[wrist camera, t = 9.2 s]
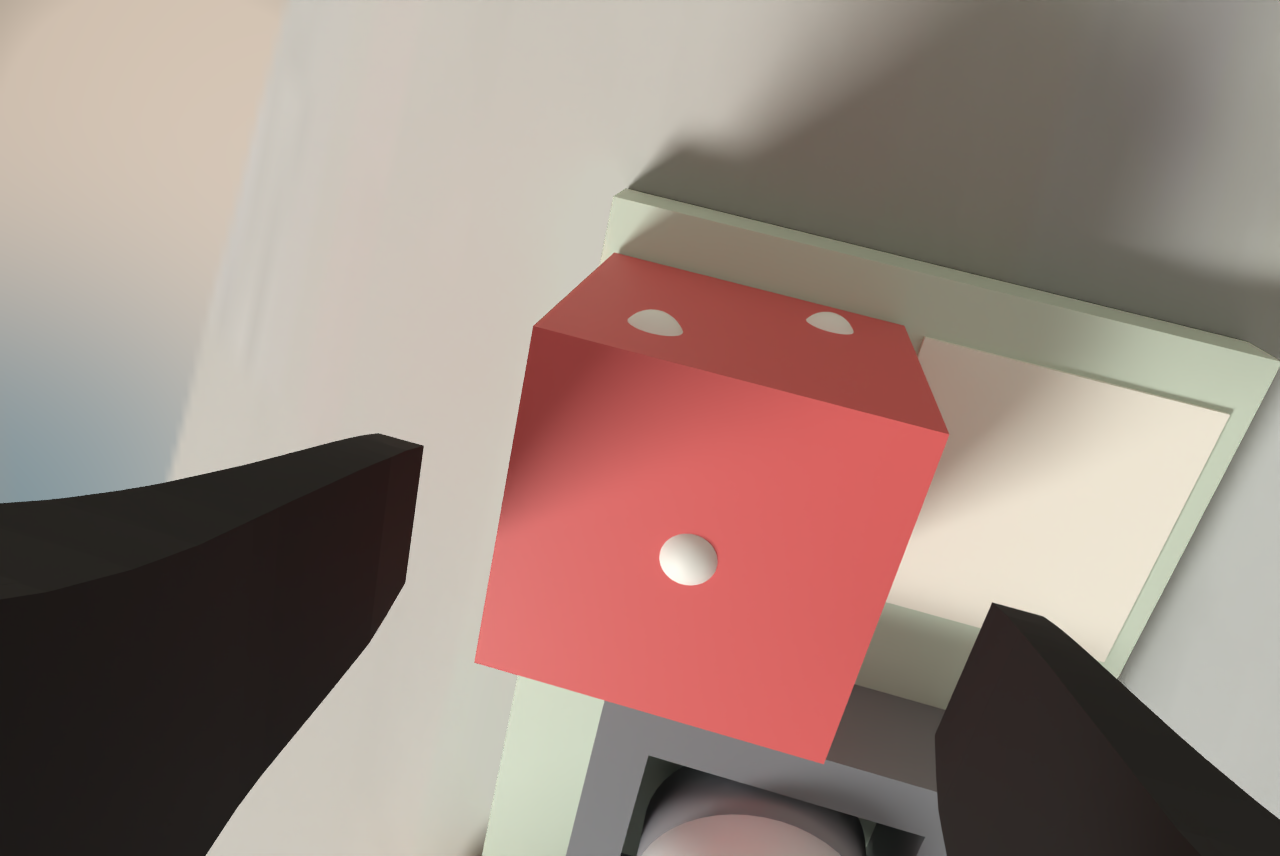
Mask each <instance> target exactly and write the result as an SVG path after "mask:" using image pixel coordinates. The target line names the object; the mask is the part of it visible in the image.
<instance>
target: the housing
mask: <svg viewBox="0 0 1280 856" xmlns="http://www.w3.org/2000/svg"><path fill="white" fill-rule="evenodd" d="M944 713H945V710H944V709H940V708H937V707H933V706H930V705H926V704H923V703H919V702H916V701H912V700H909V699H905V698H902V697H898V696H895V695H891V694H888V693H884V692H881V691H877V690H874V689H870V688H866V687H863V686H859V685H856V684H854V686H853V689H852V692H851V694H850V697H849V700H848V702H847V705H846V707H845V710H844V713H843V715H842V718H841V721H840V723H839V726H838V728H837V731H836V734H835V736H834V739H833V742H832V744H831V747H830V749H829V752H828V755H827V757H826V760H825V763H824V764H821V763H818V762H814V761H811V760H807V759H804V758H800V757H797V756H793V755H790V754H787V753H783V752H780V751H776V750H773V749H769V748H766V747H763V746H759V745H756V744H752V743H749V742H745V741H742V740H739V739H735V738H732V737H728V736H725V735H721V734H718V733H715V732H711V731H708V730H704V729H701V728H697V727H694V726H691V725H687V724H684V723H680V722H677V721H673V720H670V719H667V718H663V717H660V716H656V715H653V714H649V713H646V712H643V711H639V710H636V709H632V708H629V707H625V706H622V705H619V704H615V703H612V702H608V701H605V700H604V705H603V709H602V713H601V717H600V721H599V725H598V729H597V733H596V737H595V741H594V745H593V749H592V753H591V757H590V761H589V765H588V769H587V773H586V777H585V781H584V785H583V789H582V793H581V797H580V801H579V805H578V809H577V813H576V817H575V821H574V825H573V829H572V833H571V837H570V841H569V845H568V849H567V853H566V856H631V855H628V854H624V853H621V852H622V848H623V845H624V841H625V837H626V834H627V830H628V827H629V823H630V820H631V816H632V812H633V809H634V805H635V802H636V798H637V795H638V791H639V788H640V784H641V780H642V777H643V773H644V770H645V766H646V763H647V759H648V756H652V757H656V758H659V759H662V760H666V761H669V762H673V763H676V764H679V765H683V766H686V767H690V768H693V769H696V770H700V771H703V772H707V773H710V774H713V775H717V776H720V777H723V778H727V779H730V780H734V781H737V782H740V783H744V784H747V785H751V786H754V787H757V788H761V789H764V790H768V791H771V792H774V793H778V794H781V795H785V796H788V797H791V798H795V799H798V800H801V801H805V802H808V803H812V804H815V805H818V806H822V807H825V808H829V809H832V810H835V811H839V812H842V813H846V814H849V815H852V816H856V817H859V818H862V819H866V820H869V821H873V822H876V826H875V828H874V830H873V833H872V835H871V837H870V840H869V842H868V844H867V847H866V856H947V854H946V849H945V844H944V839H943V834H942V828H941V823H940V817H939V811H938V798H937V783H936V759H935V733H936V731H937V729H938V726H939V724H940V722H941V719H942V717H943V715H944Z"/></svg>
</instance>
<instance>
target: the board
mask: <svg viewBox="0 0 1280 856" xmlns="http://www.w3.org/2000/svg"><path fill="white" fill-rule="evenodd" d="M613 253H618V254H622V255H626V256H630V257H634V258H638V259H642V260H646V261H650V262H654V263H658V264H662V265H666V266H670V267H674V268H678V269H682V270H686V271H690V272H694V273H698V274H702V275H706V276H710V277H713V278H717V279H721V280H725V281H729V282H733V283H737V284H741V285H745V286H749V287H753V288H757V289H761V290H765V291H769V292H773V293H777V294H781V295H785V296H789V297H793V298H797V299H801V300H805V301H809V302H812V303H816V304H820V305H824V306H828V307H832V308H836V309H840V310H844V311H848V312H852V313H856V314H860V315H864V316H868V317H872V318H876V319H880V320H884V321H888V322H892V323H896V324H900V325H904V326H905V328H906V331H907V333H908V335H909V338H910V340H911V343H912V345H913V348H914V350H915V352H916V355H917V357H918V360H919V362H920V364H921V367H922V369H923V372H924V374H925V377H926V379H927V381H928V384H929V386H930V389H931V391H932V393H933V396H934V398H935V401H936V403H937V406H938V408H939V410H940V413H941V415H942V418H943V420H944V422H945V425H946V427H947V430H948V432H949V437H948V440H947V442H946V445H945V448H944V450H943V453H942V455H941V458H940V461H939V463H938V466H937V469H936V471H935V474H934V476H933V479H932V482H931V484H930V487H929V490H928V492H927V495H926V497H925V500H924V503H923V505H922V508H921V511H920V513H919V516H918V518H917V521H916V524H915V526H914V529H913V532H912V534H911V537H910V539H909V542H908V545H907V547H906V550H905V553H904V555H903V558H902V560H901V563H900V566H899V568H898V571H897V574H896V576H895V579H894V581H893V584H892V587H891V589H890V592H889V595H888V597H887V600H886V602H885V605H884V608H883V610H882V613H881V616H880V618H879V621H878V623H877V626H876V629H875V631H874V634H873V637H872V639H871V642H870V644H869V647H868V650H867V652H866V655H865V658H864V660H863V663H862V665H861V668H860V671H859V673H858V676H857V679H856V681H855V684H856V685H859V686H863V687H866V688H870V689H874V690H877V691H881V692H884V693H888V694H891V695H895V696H898V697H902V698H905V699H909V700H912V701H916V702H919V703H923V704H926V705H930V706H933V707H937V708H940V709H944V710H946V708H947V706H948V703H949V701H950V699H951V696H952V694H953V692H954V689H955V687H956V685H957V682H958V680H959V678H960V676H961V673H962V671H963V669H964V666H965V664H966V662H967V659H968V657H969V655H970V652H971V650H972V648H973V645H974V643H975V641H976V639H977V636H978V634H979V632H980V629H981V627H982V625H983V622H984V620H985V618H986V615H987V613H988V611H989V608H990V606H991V604H992V602H993V603H997V604H1000V605H1004V606H1008V607H1011V608H1015V609H1019V610H1022V611H1026V612H1029V613H1033V614H1037V615H1040V616H1044V617H1045V618H1047V619H1048V620H1049V621H1051V622H1052V623H1054V624H1055V625H1056V626H1058V627H1059V628H1060V629H1061V630H1063V631H1064V632H1065V633H1066V634H1067V635H1069V636H1070V637H1071V638H1072V639H1073V640H1074V641H1076V642H1077V643H1078V644H1079V645H1080V646H1081V647H1082V648H1083V649H1085V650H1086V651H1087V652H1088V653H1089V654H1090V655H1091V656H1092V657H1093V658H1095V659H1096V660H1097V661H1098V662H1099V663H1100V664H1101V665H1102V666H1103V667H1104V668H1105V669H1107V670H1108V671H1109V672H1110V673H1111V674H1112V675H1113V676H1114V677H1115V678H1116V679H1118V677H1119V675H1120V673H1121V671H1122V669H1123V667H1124V665H1125V663H1126V661H1127V659H1128V657H1129V655H1130V654H1131V652H1132V650H1133V648H1134V646H1135V644H1136V642H1137V640H1138V638H1139V636H1140V634H1141V632H1142V631H1143V629H1144V627H1145V625H1146V623H1147V621H1148V619H1149V617H1150V615H1151V613H1152V611H1153V609H1154V607H1155V606H1156V604H1157V602H1158V600H1159V598H1160V596H1161V594H1162V592H1163V590H1164V588H1165V586H1166V584H1167V582H1168V581H1169V579H1170V577H1171V575H1172V573H1173V571H1174V569H1175V567H1176V565H1177V563H1178V561H1179V559H1180V558H1181V556H1182V554H1183V552H1184V550H1185V548H1186V546H1187V544H1188V542H1189V540H1190V538H1191V536H1192V534H1193V533H1194V531H1195V529H1196V527H1197V525H1198V523H1199V521H1200V519H1201V517H1202V515H1203V513H1204V511H1205V509H1206V508H1207V506H1208V504H1209V502H1210V500H1211V498H1212V496H1213V494H1214V492H1215V490H1216V488H1217V486H1218V484H1219V483H1220V481H1221V479H1222V477H1223V475H1224V473H1225V471H1226V469H1227V467H1228V465H1229V463H1230V461H1231V460H1232V458H1233V456H1234V454H1235V452H1236V450H1237V448H1238V446H1239V444H1240V442H1241V440H1242V438H1243V436H1244V435H1245V433H1246V431H1247V429H1248V427H1249V425H1250V423H1251V421H1252V419H1253V417H1254V415H1255V413H1256V411H1257V410H1258V408H1259V406H1260V404H1261V402H1262V400H1263V398H1264V396H1265V394H1266V392H1267V390H1268V388H1269V387H1270V385H1271V383H1272V381H1273V379H1274V377H1275V375H1276V373H1277V371H1278V369H1279V367H1280V360H1278V359H1276V358H1275V357H1273V356H1271V355H1269V354H1268V353H1266V352H1264V351H1263V350H1261V349H1259V348H1258V347H1256V346H1254V345H1252V344H1251V343H1249V342H1247V341H1242V340H1238V339H1234V338H1230V337H1226V336H1222V335H1218V334H1214V333H1210V332H1206V331H1202V330H1198V329H1194V328H1190V327H1186V326H1182V325H1178V324H1174V323H1169V322H1165V321H1161V320H1157V319H1153V318H1149V317H1145V316H1141V315H1137V314H1133V313H1129V312H1125V311H1121V310H1117V309H1113V308H1109V307H1105V306H1101V305H1097V304H1092V303H1088V302H1084V301H1080V300H1076V299H1072V298H1068V297H1064V296H1060V295H1056V294H1052V293H1048V292H1044V291H1040V290H1036V289H1032V288H1028V287H1024V286H1019V285H1015V284H1011V283H1007V282H1003V281H999V280H995V279H991V278H987V277H983V276H979V275H975V274H971V273H967V272H963V271H959V270H955V269H951V268H946V267H942V266H938V265H934V264H930V263H926V262H922V261H918V260H914V259H910V258H906V257H902V256H898V255H894V254H890V253H886V252H882V251H878V250H874V249H869V248H865V247H861V246H857V245H853V244H849V243H845V242H841V241H837V240H833V239H829V238H825V237H821V236H817V235H813V234H809V233H805V232H801V231H796V230H792V229H788V228H784V227H780V226H776V225H772V224H768V223H764V222H760V221H756V220H752V219H748V218H744V217H740V216H736V215H732V214H728V213H723V212H719V211H715V210H711V209H707V208H703V207H699V206H695V205H691V204H687V203H683V202H679V201H675V200H671V199H667V198H663V197H659V196H655V195H651V194H646V193H642V192H638V191H634V190H630V189H625V190H623V191H621V192H620V193H618V194H616V195H615V196H613V200H612V205H611V210H610V215H609V220H608V225H607V230H606V235H605V240H604V245H603V250H602V255H601V261H600V265H601V264H602V263H603V262H604V261H605V260H607V259H608V258H609V257H610V256H611V255H612V254H613ZM603 705H604V700H601V699H598V698H594V697H591V696H588V695H584V694H581V693H577V692H574V691H570V690H567V689H564V688H560V687H557V686H553V685H550V684H546V683H543V682H540V681H536V680H533V679H529V678H526V677H522V676H519V675H518V677H517V682H516V687H515V692H514V697H513V702H512V707H511V712H510V717H509V722H508V727H507V732H506V737H505V742H504V747H503V752H502V757H501V762H500V767H499V772H498V777H497V782H496V787H495V792H494V797H493V802H492V807H491V812H490V817H489V822H488V827H487V832H486V837H485V842H484V847H483V852H482V856H566V853H567V849H568V845H569V841H570V837H571V833H572V829H573V825H574V821H575V817H576V813H577V809H578V805H579V801H580V797H581V793H582V789H583V785H584V781H585V777H586V773H587V769H588V765H589V761H590V757H591V753H592V749H593V745H594V741H595V737H596V733H597V729H598V725H599V721H600V717H601V713H602V709H603ZM681 767H683V765H679V764H676V763H673V762H669V761H666V760H662V759H659V758H656V757H652V756H648V759H647V763H646V766H645V770H644V773H643V777H642V780H641V784H640V788H639V791H638V795H637V798H636V802H635V805H634V809H633V812H632V816H631V820H630V823H629V827H628V830H627V834H626V837H625V841H624V845H623V848H622V852H621V853H624V854H628V855H631V856H637V852H638V847H639V842H640V838H641V833H642V828H643V824H644V819H645V814H646V810H647V807H648V805H649V802H650V799H651V798H652V796H653V794H654V793H655V791H656V789H657V788H658V787H659V786H660V785H661V783H662V782H663V781H664V780H665V779H666V778H668V777H669V776H670V775H671V774H672V773H673V772H675V771H677V770H678V769H680V768H681ZM858 818H859V817H858ZM859 821H860V823H861V826H862V829H863V833H864V838H865V846H866V847H867V844H868V842H869V840H870V837H871V835H872V833H873V830H874V828H875V826H876V822H873V821H869V820H866V819H862V818H859Z"/></svg>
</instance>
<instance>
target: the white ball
mask: <svg viewBox="0 0 1280 856" xmlns="http://www.w3.org/2000/svg"><path fill="white" fill-rule="evenodd" d="M637 856H866V846H865V838H864V833H863V829H862V826H861V823H860V821H859V818H858V817H856V816H852V815H849V814H846V813H842V812H839V811H835V810H832V809H829V808H825V807H822V806H818V805H815V804H812V803H808V802H805V801H801V800H798V799H795V798H791V797H788V796H785V795H781V794H778V793H774V792H771V791H768V790H764V789H761V788H757V787H754V786H751V785H747V784H744V783H740V782H737V781H734V780H730V779H727V778H723V777H720V776H717V775H713V774H710V773H707V772H703V771H700V770H696V769H693V768H690V767H686V766H683V767H681V768H680V769H678V770H677V771H675V772H673V773H672V774H671V775H670V776H669V777H668V778H666V779H665V780H664V781H663V782H662V783H661V785H660V786H659V787H658V788H657V789H656V791H655V793H654V794H653V796H652V798H651V799H650V802H649V805H648V807H647V810H646V814H645V819H644V824H643V828H642V833H641V838H640V842H639V847H638V852H637Z"/></svg>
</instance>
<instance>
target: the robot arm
mask: <svg viewBox="0 0 1280 856" xmlns="http://www.w3.org/2000/svg"><path fill="white" fill-rule="evenodd" d="M423 447H424V446H422V445H419V444H415V443H411V442H408V441H404V440H400V439H397V438H393V437H390V436H386V435H382V434H379V433H378V434H369V435H363V436H357V437H353V438H348V439H344V440H340V441H335V442H332V443H328V444H324V445H320V446H316V447H312V448H308V449H305V450H301V451H297V452H293V453H289V454H285V455H282V456H278V457H274V458H270V459H266V460H262V461H259V462H255V463H251V464H247V465H243V466H238V467H234V468H229V469H225V470H220V471H216V472H211V473H207V474H202V475H198V476H193V477H189V478H184V479H180V480H175V481H171V482H166V483H161V484H155V485H151V486H145V487H139V488H133V489H127V490H121V491H114V492H106V493H99V494H92V495H85V496H77V497H70V498H61V499H52V500H41V501H28V502H14V503H0V856H206V854H207V852H208V851H209V849H210V848H211V846H212V845H213V843H214V842H215V840H216V839H217V837H218V836H219V834H220V833H221V831H222V830H223V828H224V827H225V825H226V824H227V822H228V821H229V819H230V818H231V816H232V815H233V813H234V812H235V810H236V809H237V807H238V806H239V804H240V803H241V802H242V800H243V799H244V798H245V796H246V795H247V794H248V792H249V791H250V790H251V788H252V787H253V786H254V784H255V783H256V782H257V780H258V779H259V778H260V776H261V775H262V774H263V773H264V772H265V770H266V769H267V768H268V767H269V765H270V764H271V763H272V762H273V761H274V759H275V758H276V757H277V756H278V754H279V753H280V752H281V751H282V750H283V748H284V747H285V746H286V745H287V744H288V742H289V741H290V740H291V739H292V737H293V736H294V735H295V734H296V733H297V731H298V730H299V729H300V728H301V726H302V725H303V724H304V723H305V722H306V720H307V719H308V718H309V717H310V716H311V714H312V713H313V712H314V711H315V709H316V708H317V707H318V706H319V705H320V703H321V702H322V701H323V700H324V699H325V697H326V696H327V695H328V694H329V692H330V691H331V690H332V689H333V688H334V686H335V685H336V684H337V683H338V681H339V680H340V679H341V678H342V676H343V675H344V674H345V673H346V671H347V670H348V669H349V668H350V666H351V665H352V664H353V663H354V662H355V660H356V659H357V658H358V657H359V655H360V654H361V653H362V651H363V650H364V649H365V648H366V646H367V645H368V644H369V642H370V641H371V639H372V638H373V636H374V634H375V633H376V631H377V629H378V628H379V626H380V625H381V623H382V621H383V620H384V618H385V617H386V615H387V613H388V611H389V610H390V608H391V606H392V605H393V603H394V601H395V599H396V598H397V596H398V594H399V592H400V591H401V589H402V587H403V586H404V584H405V580H406V573H407V565H408V558H409V551H410V543H411V536H412V528H413V521H414V514H415V506H416V499H417V491H418V484H419V477H420V469H421V462H422V454H423ZM935 759H936V783H937V798H938V811H939V817H940V823H941V828H942V834H943V839H944V844H945V849H946V854H947V856H1280V819H1278V818H1277V817H1276V816H1274V815H1273V814H1272V813H1271V812H1269V811H1268V810H1267V809H1266V808H1264V807H1263V806H1262V805H1260V804H1259V803H1258V802H1257V801H1255V800H1254V799H1253V798H1252V797H1251V796H1249V795H1248V794H1247V793H1246V792H1245V791H1243V790H1242V789H1241V788H1240V787H1239V786H1237V785H1236V784H1235V783H1234V782H1233V781H1231V780H1230V779H1229V778H1228V777H1227V776H1225V775H1224V774H1223V773H1222V772H1221V771H1219V770H1218V769H1217V768H1216V767H1215V766H1213V765H1212V764H1211V763H1210V762H1209V761H1207V760H1206V759H1205V758H1204V757H1203V756H1202V755H1201V754H1199V753H1198V752H1197V751H1196V750H1195V749H1194V748H1193V747H1191V746H1190V745H1189V744H1188V743H1187V742H1186V741H1185V740H1183V739H1182V738H1181V737H1180V736H1179V735H1178V734H1177V733H1175V732H1174V731H1173V730H1172V729H1171V728H1170V727H1169V726H1168V725H1167V724H1165V723H1164V722H1163V721H1162V720H1161V719H1160V718H1159V717H1158V716H1157V715H1155V714H1154V713H1153V712H1152V711H1151V710H1150V709H1149V708H1148V707H1147V706H1146V705H1145V704H1143V703H1142V702H1141V701H1140V700H1139V699H1138V698H1137V697H1136V696H1135V695H1134V694H1133V693H1131V692H1130V691H1129V690H1128V689H1127V688H1126V687H1125V686H1124V685H1123V684H1122V683H1121V682H1120V681H1118V680H1117V679H1116V678H1115V677H1114V676H1113V675H1112V674H1111V673H1110V672H1109V671H1108V670H1107V669H1105V668H1104V667H1103V666H1102V665H1101V664H1100V663H1099V662H1098V661H1097V660H1096V659H1095V658H1093V657H1092V656H1091V655H1090V654H1089V653H1088V652H1087V651H1086V650H1085V649H1083V648H1082V647H1081V646H1080V645H1079V644H1078V643H1077V642H1076V641H1074V640H1073V639H1072V638H1071V637H1070V636H1069V635H1067V634H1066V633H1065V632H1064V631H1063V630H1061V629H1060V628H1059V627H1058V626H1056V625H1055V624H1054V623H1052V622H1051V621H1049V620H1048V619H1047V618H1045V617H1044V616H1040V615H1037V614H1033V613H1029V612H1026V611H1022V610H1019V609H1015V608H1011V607H1008V606H1004V605H1000V604H997V603H993V602H992V604H991V606H990V608H989V611H988V613H987V615H986V618H985V620H984V622H983V625H982V627H981V629H980V632H979V634H978V636H977V639H976V641H975V643H974V645H973V648H972V650H971V652H970V655H969V657H968V659H967V662H966V664H965V666H964V669H963V671H962V673H961V676H960V678H959V680H958V682H957V685H956V687H955V689H954V692H953V694H952V696H951V699H950V701H949V703H948V706H947V708H946V710H945V713H944V715H943V717H942V719H941V722H940V724H939V726H938V729H937V731H936V733H935Z"/></svg>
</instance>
